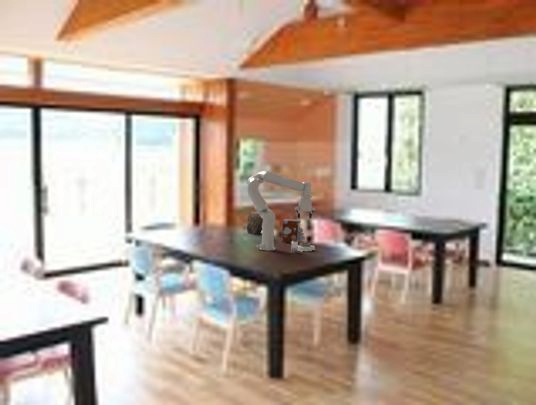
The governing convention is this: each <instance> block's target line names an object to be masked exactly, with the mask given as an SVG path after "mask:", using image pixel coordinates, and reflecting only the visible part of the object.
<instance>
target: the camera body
mask: <svg viewBox="0 0 536 405" xmlns="http://www.w3.org/2000/svg"><path fill="white" fill-rule="evenodd" d="M315 248H316V246H315V245H311V243H310V242H304V241H303V242H298V252H303V251H305V252H313V251H312V250H315V251H316V249H315ZM303 253H304V252H303Z"/></svg>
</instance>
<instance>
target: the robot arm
mask: <svg viewBox="0 0 536 405" xmlns="http://www.w3.org/2000/svg"><path fill="white" fill-rule="evenodd" d="M265 182H266V183H268V184H272V185H276V186H279V187H283V188H287V189H290V190H293V191H297V192H300V193H301V194H300V198H299V201H298V206H296V207H294V209H295V212H296V213H297V218H298V220H301V212H309V213H308V218H309V219H311V220H312V217H313V215H312V214H314V212H315V210H316V208H315V207H313V205H312V204H313V203H312V198H313V196H312V194H311V193H312V192H311V191H312V183H311V182H310V181H299V180H295V179H293V178H289V177H287V176H284V175H282V174H278V173H276V172H272V171H269V170H263V171H260V172H258V173H256V174H254V175H252V176H250V177H248V179H247V194H248V197H249V199H250V201H251V202H252V204H253V208H254V210H256V211H255V212H258V214H259V215H260V217H261V218H262V219H263V222H262V231H261V243H260V244H256V248H259V250H261V251H275V250H276V247H275V246H274V244H275V243H274V241H275V239H274V238H275V222H276V214H275V212H274V211H273V210H271V208H270V207H269V206H268V203H267V201H266V200H265V199H264V197H263V196H262V194H261V192H260V190H259V187H260V185H261V184H263V183H265Z"/></svg>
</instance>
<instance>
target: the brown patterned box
mask: <svg viewBox="0 0 536 405" xmlns="http://www.w3.org/2000/svg"><path fill="white" fill-rule="evenodd" d="M281 223H282V224H281V225H282V226H281V227H282V228H281V242H282V243H286V242H290V243H289V244H291V242H292V241H293V240H296V241H298V242H299V241H300V240H301V241H305V238H306V237H305V234H304V233H303V231H304V228H302V227H300V224H301V223H302V222H301V219H293V218H292V219H291V218H290V219H289V218H285V219H283V220H282V222H281Z"/></svg>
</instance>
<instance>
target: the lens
mask: <svg viewBox="0 0 536 405" xmlns="http://www.w3.org/2000/svg"><path fill="white" fill-rule="evenodd" d="M290 244H291V246H290V250H291V251H290V253H291V254H298V253H299V251H298V245H299V241H296V240H293V241H292V242H291V243H290Z"/></svg>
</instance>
